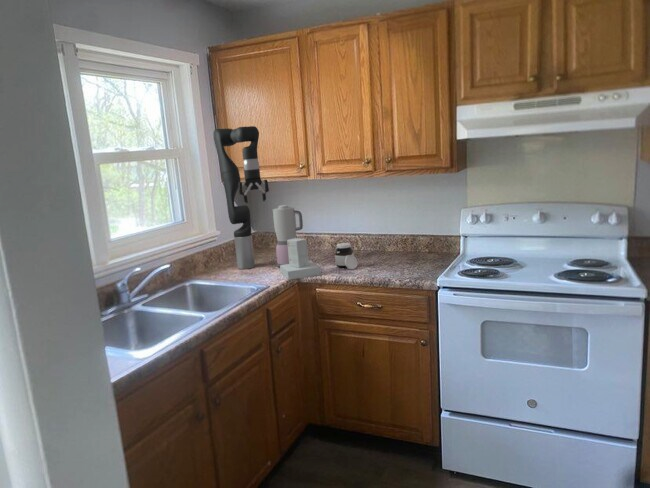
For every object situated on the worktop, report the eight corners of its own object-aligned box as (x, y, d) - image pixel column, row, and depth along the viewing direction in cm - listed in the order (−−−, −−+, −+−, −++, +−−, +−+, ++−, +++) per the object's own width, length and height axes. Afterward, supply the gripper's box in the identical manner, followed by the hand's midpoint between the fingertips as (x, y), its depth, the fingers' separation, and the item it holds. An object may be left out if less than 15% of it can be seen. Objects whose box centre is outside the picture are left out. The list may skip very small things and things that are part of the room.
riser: (280, 273, 244) (279, 265, 243) (311, 268, 248) (310, 260, 248) (288, 280, 229) (287, 271, 228) (321, 274, 233) (320, 266, 233)
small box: (309, 265, 237) (307, 239, 235) (298, 268, 233) (296, 241, 231) (299, 263, 243) (297, 237, 241) (289, 266, 239) (286, 239, 237)
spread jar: (342, 264, 252) (341, 242, 250) (362, 265, 246) (361, 242, 244) (332, 270, 241) (330, 246, 239) (352, 270, 236) (351, 247, 234)
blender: (274, 269, 254) (267, 207, 248) (281, 263, 265) (275, 204, 259) (303, 268, 250) (297, 206, 244) (309, 262, 261) (304, 203, 256)
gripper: (264, 167, 242) (267, 200, 245) (235, 170, 238) (239, 203, 241) (267, 167, 235) (271, 201, 238) (238, 170, 231) (242, 204, 234)
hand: (255, 202), depth 239 cm, fingers open, 8 cm apart
